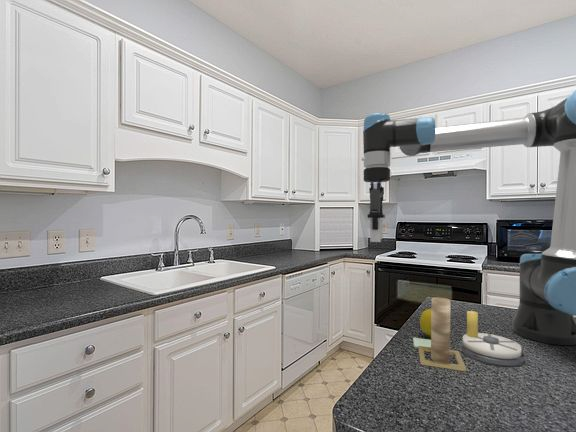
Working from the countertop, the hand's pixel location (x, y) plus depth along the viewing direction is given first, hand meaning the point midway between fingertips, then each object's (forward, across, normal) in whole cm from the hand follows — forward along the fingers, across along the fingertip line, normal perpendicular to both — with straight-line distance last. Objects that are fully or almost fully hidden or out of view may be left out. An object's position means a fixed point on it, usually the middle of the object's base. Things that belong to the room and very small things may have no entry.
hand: (376, 240), depth 93 cm
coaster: (+26, +7, +13) cm, 30 cm away
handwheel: (+25, +7, +27) cm, 38 cm away
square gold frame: (+26, +15, +15) cm, 34 cm away
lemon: (+27, +1, +14) cm, 30 cm away
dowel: (+26, +15, +15) cm, 34 cm away
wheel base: (+27, +7, +27) cm, 39 cm away
